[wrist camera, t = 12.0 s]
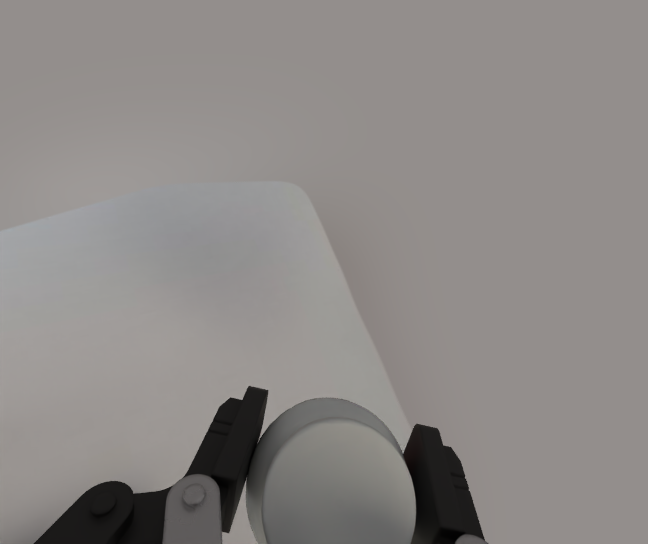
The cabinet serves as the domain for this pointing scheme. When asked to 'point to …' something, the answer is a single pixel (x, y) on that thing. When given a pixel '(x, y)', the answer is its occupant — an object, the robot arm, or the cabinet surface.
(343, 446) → the pill bottle
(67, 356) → the cabinet surface
